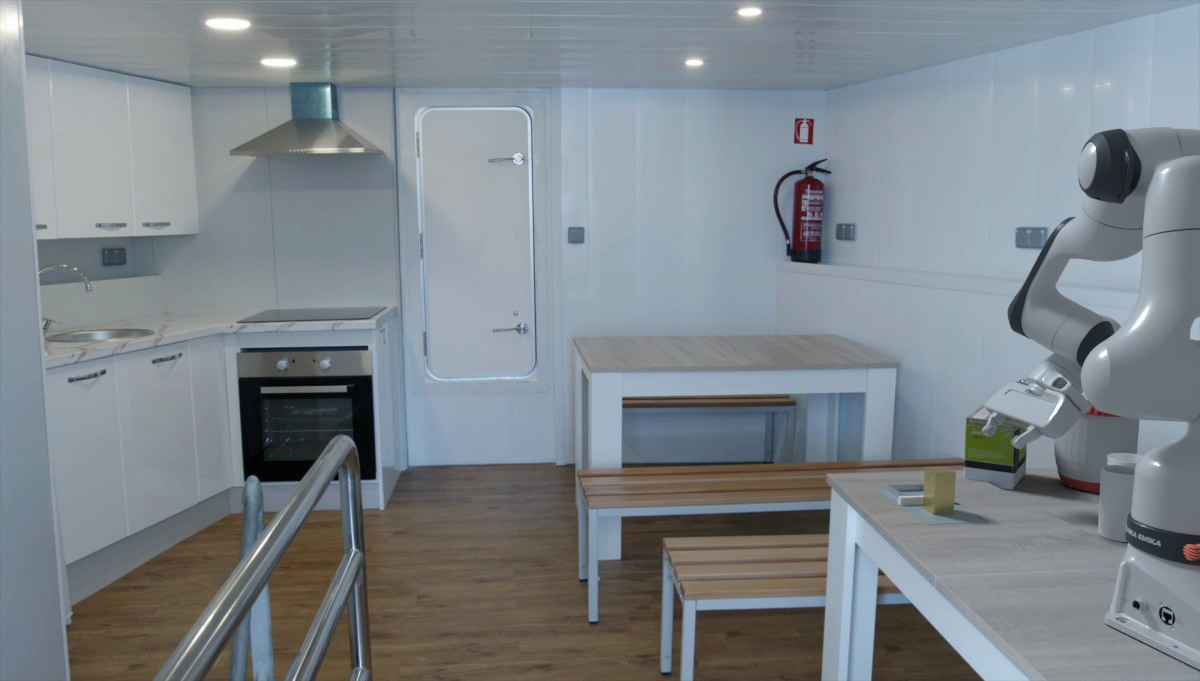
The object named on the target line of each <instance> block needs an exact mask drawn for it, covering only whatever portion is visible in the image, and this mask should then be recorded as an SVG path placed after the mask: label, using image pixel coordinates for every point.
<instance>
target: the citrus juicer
mask: <svg viewBox="0 0 1200 681" xmlns="http://www.w3.org/2000/svg"><path fill="white" fill-rule="evenodd" d="M1086 400H1087V401H1088V399H1086ZM1088 402H1089V401H1088ZM1089 403H1090V402H1089ZM1090 405H1091V409H1090V410H1089V411H1088V412H1087V413H1085V414H1081V417H1080V419H1079V420H1078V421H1077V422H1076V423H1075V424H1074V426H1073V427H1072V428H1071V429H1070V430H1068V431H1067V432H1066V433H1065V434H1064V435H1063V436H1061V437H1059V438H1057V439H1054V459H1055V464H1056V469H1057V475H1058V477H1059V479H1060V481H1061V483H1062V484H1063V485H1065V486H1067V487H1068V488H1069V487H1070V488H1073V489H1077V490H1081V491H1085V492H1086V493H1090V494H1097V493H1100V480H1101V467H1102V466H1106V465H1107V455H1108V454H1111V453H1130V454H1137V455H1138V446H1139V445H1138V444H1139V432H1140V431H1139V430H1140V423H1141V422H1140V421H1141V420H1138V419H1131V418H1126V417H1121V416H1117V415H1113V414H1109V413H1105V412H1101V411H1098V410H1097V409H1096V408H1094V407H1093V405H1092V404H1091V403H1090Z"/></svg>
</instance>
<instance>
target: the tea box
mask: <svg viewBox="0 0 1200 681" xmlns="http://www.w3.org/2000/svg"><path fill="white" fill-rule="evenodd" d="M990 415H991V414H990V413H989V412H988V410H987V409H986V408H985V405H981V406H979V407H978V408H977V409H975V410H974V411H973V412H972V413H971V414H969V415H968V416H966V417H965V428H964V430H965V435H964V437H965V438H964V454H963V456H964V457H963V459H964V460H963V461H964V463H963V479H966V480H971V481H978V482H984V483H988V484H990V485H992V486H994V487H996V488H999V489H1001V490H1002V489H1003V490H1013V489H1014V488H1015V487H1016V485H1017V484H1018V483H1019V482H1020V481H1021V480H1022V478H1023V477H1024V476H1025V475H1026V474H1027V454H1028V453H1027V450H1028V449H1027V448H1028V445H1027V444H1026V445H1025V446H1024V447H1023V448H1022V449H1017V448H1015V447H1014V446H1013V445H1012V444H1011V440H1012V439H1014V437H1015V436H1016V435H1017V436H1020V435H1021V434H1023V433H1025V432H1026V431H1028V430H1027V429H1024V428H1021V427H1019V426H1016V425H1013V424H1011V423H1008V422H1005V421H1004V422H1003V423H1002V424H998V426H997V428H996V431H997V432H996V433H995V434H994V435H993V436H992V437H988V436H986V435H985V434H984V433H983V432H982V429H983V428H984V427H985V426H986V425H987V422H988V419H989V417H990Z"/></svg>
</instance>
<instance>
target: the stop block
mask: <svg viewBox="0 0 1200 681" xmlns="http://www.w3.org/2000/svg"><path fill="white" fill-rule="evenodd" d="M956 474H957V471H955V470H953V469H951V468H949V467H947V466H945V465H944V466H943V465H941V466H925V467H924V475H923V476H924V477H923V484H924V494H923V508H924V509H925V510H927V511H928V512H930V513H931V514H933V515H939V514H954V503H955V500H954V498H955V496H956V494H955V493H956V476H957V475H956Z"/></svg>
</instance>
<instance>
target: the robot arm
mask: <svg viewBox="0 0 1200 681" xmlns="http://www.w3.org/2000/svg"><path fill="white" fill-rule="evenodd" d="M1080 152H1081V153H1080V156H1079V159H1078V163H1077V177H1078V178H1077V179H1078V184H1079V188H1080V189H1081V191H1082V192H1084V194H1085V198H1084V201H1083V205H1082V208H1081V209H1080V211H1079V213H1078V214H1077V215H1076V216H1070V217H1067V218H1065V219H1063V221H1061V222H1060V223H1059V224H1057V226H1056V227H1055V228H1054V229H1053V230H1052V232H1051V234H1050V235H1049V236H1048V237H1047V240H1046V242H1045V244H1044V245H1043V246H1042V249H1041V251H1040V252H1039V254H1038V256H1037V258H1036V260H1035V261H1034V264H1033V266H1032V267H1031V269H1030V271H1029V273H1028V275H1027V277H1026V279H1025V281H1024V283H1023V284H1022V286H1021V287H1020V289H1019V290H1018V292H1017V293H1016V294H1015V295H1014V297H1013V299H1012V301H1010V304H1009V306H1008V308H1007V320H1008V324H1009V326H1010V329H1011V330H1012V332H1014V333H1016V334H1019V335H1021V336H1022V337H1025V338H1027V339H1028V340H1032V341H1034V342H1035V343H1037V344H1038V345H1040V346H1042V347H1044V348H1045V349H1047V350H1049V351H1051V352H1052V354H1051V355H1050V356H1048V357H1046V358H1045V359H1043V360H1042V361H1041V362H1040V363H1039V364H1038V365H1037V366H1036V367H1035V368H1034V369H1033V370H1032V371H1031V372H1030V373H1029V374H1028V375H1027V377H1025V379H1019V380H1017V381H1011V382H1008V383H1007V384H1005V385H1004V386H1003V387H1002V388H1000V389H999V390H998V391H996V392H995V393H994V394H993V395H992V396H991V397H989V399H988V400H987V401H986V402H985V405H984V406H985V408H986V409H987V410H988V412H989V413H990V414H991V415H990V417H989V419H988V422H987V425H986V426H985V427H984V428H983V429H982V432H983V433H984V434H985V435H986V436H988V437H992V436H993V435H994V434H995V433H996V432H997V431H996V428H997V426H998V424H1002V423H1003V422H1004V421H1005V422H1008V423H1011V424H1013V425H1016V426H1019V427H1021V428H1024V429H1027V431H1026V432H1025V433H1023V434H1021V435H1020V436H1017V435H1016V436H1015V437H1014V439H1012V440H1011V444H1012V445H1013V446H1014V447H1015V448H1017V449H1022V448H1023V447H1024V446H1025V445H1026V444H1029V443H1032V442H1034V441H1036V440H1038V439H1039V438H1040V437H1042V436H1044V437H1046V438H1049V439H1051V440H1055V439H1057V438H1059V437H1061V436H1063V435H1064V434H1065V433H1066V432H1067V431H1068V430H1070V429H1071V428H1072V427H1073V426H1074V424H1075V423H1076V422H1077V421H1078V420H1079V419H1080V417H1081V414H1085V413H1087V412H1088V411H1089V410H1090V409H1091V405H1090V403H1091V404H1092V405H1093V407H1094V408H1096V409H1097V410H1098V411H1101V412H1105V413H1109V414H1113V415H1117V416H1121V417H1126V418H1131V419H1138V420H1140V421H1143V420H1144V421H1161V422H1162V421H1163V422H1178V423H1179V422H1180V423H1186V424H1185V426H1184V429H1183V430H1182V431H1181V433H1180V434H1179V435H1178V436H1176V438H1174V439H1173V440H1171V441H1170V442H1168V443H1165V444H1163V445H1161V446H1157V447H1153V448H1152V449H1150V450H1149V451H1147V452H1146V453H1144V454H1143V456H1142V457H1141V458H1140V459H1139V461H1138V462H1137V464H1136V466H1135V472H1134V483H1133V495H1132V508H1131V512H1130V513H1129V514H1128V516H1127V523H1126V524H1125V529H1126V533H1125V539H1126V540H1127V542H1126V543H1127V547H1126V551H1125V553H1124V555H1123V558H1122V560H1121V562H1120V565H1119V568H1118V573H1117V578H1116V582H1115V587H1114V592H1113V597H1112V600H1111V603H1110V606H1109V610H1108V611H1107V612H1106V614H1105V617H1104V623H1105V624H1106V625H1108V626H1110V627H1112V628H1114V629H1116V630H1118V631H1120V632H1122V633H1124V634H1126V635H1128V636H1130V637H1132V638H1134V639H1136V640H1138V641H1140V642H1142V643H1144V644H1146V645H1149V646H1150V647H1152V648H1154V649H1157V650H1158V651H1160V652H1162V653H1165V654H1167V655H1168V656H1171V657H1172V658H1174V659H1177V660H1178V661H1181V662H1183V663H1185V664H1187V665H1189V666H1191V667H1193V668H1195V669H1197V670H1199V671H1200V339H1199V340H1198V339H1193V338H1191V329H1192V326H1193V324H1194V322H1195V321H1196V319H1198V318H1200V129H1191V128H1173V127H1170V126H1165V127H1164V126H1163V127H1162V126H1160V127H1156V126H1155V127H1142V128H1141V127H1140V128H1131V129H1122V128H1113V129H1108V130H1103V131H1100V132H1097V133H1094V134H1093V135H1092V136H1090V138H1089V139H1087V141H1086V142H1085V143H1084V146H1083V148H1082V150H1081V151H1080ZM1141 251H1142V258H1141V274H1140V284H1139V289H1138V290H1139V292H1138V296H1137V300H1136V302H1135V304H1134V307H1133V309H1132V311H1131V312H1130V313H1131V314H1130V315H1129V316H1128V317H1127V319H1126V320H1125V321H1124V323H1123V324H1122V325H1121V324H1120V323H1118V322H1117V321H1116V320H1115V319H1113V318H1112V317H1109V316H1108V315H1105V314H1098V313H1097V312H1095V311H1093V310H1091V309H1089V308H1088V307H1085V306H1083V305H1081V304H1079V303H1077V302H1076V301H1074V300H1072V299H1070V298H1068V297H1066V296H1064V295H1063V294H1062V293H1061V292H1060V291H1059V290H1058V288H1057V287H1056V285H1057V283H1058V282H1059V280H1060V278H1061V276H1062V274H1063V272H1064V271H1065V269H1066V267H1067V265H1068V263H1069V262H1070V260H1071V259H1075V260H1086V261H1087V260H1088V261H1093V262H1103V263H1105V262H1117V261H1121V260H1125V259H1128V258H1130V257H1133V256H1135V255H1136V254H1138V253H1140V252H1141ZM1083 394H1084V395H1085V396H1084V395H1083ZM1087 400H1088V401H1089V402H1090V403H1089V402H1088V401H1087Z"/></svg>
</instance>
